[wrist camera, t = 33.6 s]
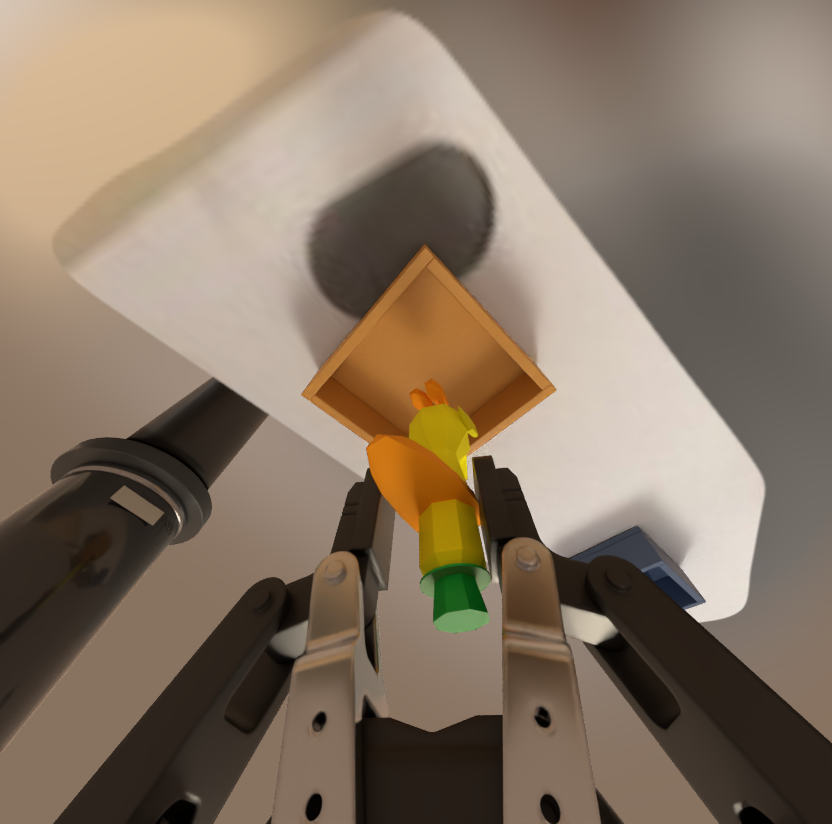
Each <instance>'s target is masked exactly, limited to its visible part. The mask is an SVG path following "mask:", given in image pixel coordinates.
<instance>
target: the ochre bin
mask: <svg viewBox="0 0 832 824" xmlns="http://www.w3.org/2000/svg"><path fill="white" fill-rule="evenodd" d="M430 379H433V380H434V381H436V382H437V383H439V384H440V385H441V387H442V388H443V390H444V392H445V395H446V397H447V400H448V402H449V405H448V406H449V407H451V408H453V409H455V410H457V411H458V406H459V407H460V408H461V409H462V410H463V411H464V412H465V413H466V414H467V415H468V416H469V417H470V419H471V420H472V422H473V423H474V424H475V427H476V430H477V432H478V436H477V437H473V436H471V435H470V434H469V433H467V434H468V439H469V444H470V451H469V452H468V453H467V454H466V457H467V456H469V455H470V454H471V453H473V452H474V451H475V450H477V449H478V448H479V447H481V446H482V445H483V444H485V443H486V442H488V441H489V440H490V439H492V438H493V437H494V436H496V435H497V434H498V433H500V432H501V431H502V430H504V429H505V428H506V427H508V426H509V425H510V424H512V423H513V422H514V421H516V420H517V419H518V418H520V417H521V416H522V415H524V414H525V413H527V412H528V411H529V410H531V409H532V408H533V407H535V406H536V405H537V404H539V403H540V402H541V401H543V400H544V399H545V398H547V397H548V396H549V395H551V394H552V393H553V392H555V391H556V388H555V387H554V386H553V385H552V383H551V382H550V381H549V380H548V378H547V377H546V376H545V375H544V374H543V372H542V371H541V370H540V369H539V368H538V366H537V365H536V364H535V363H534V362H533V361H532V360H531V359H530V358H529V357H528V355H527V354H526V353H525V352H524V351H523V350H522V349H521V348H520V347H519V346H518V345H517V343H516V342H515V341H514V340H513V339H512V338H511V337H510V336H509V335H508V334H507V333H506V331H505V330H504V329H503V328H502V327H501V326H500V325H499V324H498V323H497V322H496V321H495V319H494V318H493V317H492V316H491V315H490V314H489V313H488V312H487V311H486V310H485V308H484V307H483V306H482V305H481V304H480V303H479V302H478V301H477V300H476V299H475V298H474V296H473V295H472V294H471V293H470V292H469V291H468V290H467V289H466V288H465V287H464V286H463V284H462V283H461V282H460V281H459V280H458V279H457V278H456V277H455V276H454V275H453V274H452V272H451V271H450V270H449V269H448V268H447V267H446V266H445V265H444V264H443V263H442V262H441V260H440V259H439V258H438V257H437V256H436V255H435V254H434V253H433V252H432V251H431V250H430V248H429V247H428V246H427V245H426V244H424V245H423V246H422V247H421V249H420V250H419V251H418V252H417V253H416V255H415V256H414V257H413V258H412V259H411V260H410V262H409V263H408V264H407V265H406V266H405V268H404V269H403V270H402V271H401V272H400V274H399V275H398V276H397V277H396V278H395V280H394V281H393V282H392V283H391V284H390V286H389V287H388V288H387V289H386V290H385V292H384V293H383V294H382V295H381V296H380V298H379V299H378V300H377V301H376V302H375V304H374V305H373V306H372V307H371V308H370V309H369V311H368V312H367V313H366V314H365V315H364V317H363V318H362V319H361V320H360V321H359V323H358V324H357V325H356V326H355V327H354V329H353V330H352V331H351V332H350V333H349V335H348V336H347V337H346V338H345V339H344V341H343V342H342V343H341V344H340V345H339V347H338V348H337V349H336V350H335V351H334V353H333V354H332V355H331V356H330V357H329V358H328V360H327V361H326V362H325V363H324V364H323V366H322V367H321V368H320V369H319V370H318V372H317V373H316V375H315V376H314V377H313V379H312V380H311V381H310V383H309V384H308V386H307V387H306V388H305V390H304V391H303V392H302V394H301V395H302V396H303V397H305V398H306V399H308V400H310V402H312V403H313V404H315V405H316V406H317V407H319V408H320V409H322V410H323V411H324V412H326V413H327V414H329V415H330V416H332V417H333V418H334V419H336V420H337V421H339V422H340V423H341V424H343V425H344V426H346V427H347V428H348V429H350V430H351V431H353V432H354V433H355V434H357V435H358V436H360V437H361V438H362V439H364V440H365V441H367V442H368V443H369V444H370V443H371V442H372V440H373V439H374V438H375V437H376V435H377V434H380V435H393V436H403V437H405V438H406V436H407V437H408V438H409V424H410V423H411V422H412V420H413V419H414V418H415V416H416V415H417V413H418V412H419V410H418V409H416V408H415V407H414V406H413V403H412V400H411V397H410V394H409V393H410V392H411V391H412V390H414V389H415V388H418V389H419V390H421V391H423V392H425V393H426V389H425V385H424V384H425V382H427V381H429V380H430ZM426 394H427V393H426ZM431 402H432V401H431ZM432 403H433V405H437V404H435V403H434V402H432ZM458 412H459V411H458Z"/></svg>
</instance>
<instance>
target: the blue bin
mask: <svg viewBox="0 0 832 824" xmlns="http://www.w3.org/2000/svg"><path fill="white" fill-rule="evenodd" d="M602 555H612V556H617V557H620V558H623V559H625V560H627V561H629V562H631V563H632V564H634V565H635V566H636V567H637V568H639V569H640V570H641V571H642V572H645V571H647V572H648V573H649V574H650V576H651V577H652V579H653V580H654V582H655V583H656V585H657V586H659V587H660V588H661V589H662V590H663V591H664V592H665V593H666V594H667V595H668V596H670V597H671V598H672V599H673V600H674V601H675V602H676V603H677V604H678V605H680V606H681V607H682V608H683V609H684V610H685V609H688V608H691V607H694V606H697V605H700V604H702V603H705V602H706V601H705V599H704V598H703V597H702V595H701V594H700V593H699V592H698V590H697V589H696V588H695V586H694V585H693V584H692V582H691V581H690V580H689V578H688V577H687V576H686V574H685V573H684V572H683V570H682V569H681V568H680V567H679V566H678V565H677V564H676V563H675V562H674V561H673V560H672V559H671V558H670V557H669V556H668V555H667V554H666V553H665V552H664V551H663V550H662V549H661V548H660V547H659V546H658V545H657V544H656V543H655V542H654V541H653V540H652V539H651V538H649V537H648V536H647V535H646V534H645V533H644V532H643V531H642V530H641V529H640V528H639V527H638V526H636V527H634V528H632V529H630V530H627V531H625V532H623V533H621V534H619V535H617V536H615V537H613V538H611V539H609V540H607V541H605V542H603V543H601V544H599V545H597V546H594V547H592V548H590V549H588V550H586V551H584V552H582V553H580V554H578V555H576V556H574V557H572V558H570V559H572V560H577V561H581V562H586V563H590V562H591V561H592V560H593V559H594V558H595V557H598V556H602Z"/></svg>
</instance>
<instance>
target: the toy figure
mask: <svg viewBox="0 0 832 824" xmlns="http://www.w3.org/2000/svg"><path fill="white" fill-rule="evenodd" d="M424 385H425V389H426V393H427V394H426V393H425V392H423V391H421V390H419V389H418V388H415V389H414V390H412V391H411V392H410V393H409V394H410V397H411V400H412V403H413V406H414V407H415V408H416V409H418V410H419V412H418V413H417V415H416V416H415V418H414V419H413V420H412V422H411V423H410V424H409V438H408V437H407V436H406V438H405V437H403V436H393V435H380V434H377V435H376V437H375V438H374V439H373V440H372V442H371V443H370V444H369V445H368V446H367V448H366V450H367V455H368V460H369V465H370V470H371V475H372V477H373V479H374V481H375V483H376V485H377V486H378V488H379V490H380V492H381V494H382V495H383V496H384V497H385V499H386V500H387V501H388V502H389V503H390V505H391V506H392V507H393V508H394V509H395V511H396V512H397V513H398V514H399V515H400V516H401V517H402V518H403V519H404V520H405V521H406V522H407V523H408V524H409V525H410V526H411V527H412V528H413V529H415V530H416V531H417V532H418V533H419V560H420V561H419V563H420V565H419V567H420V570H421V572H422V575H423V578H422V579H421V581H420V589H421V591H422V592H423V593H424V594H425V595H427V596H429V597H432V598H434V610H433V623H434V625H435V626H436V629H437V630H439V631H445V632H451V633H459V632H466V631H472V630H477V629H478V628H480V627H482V626H483V625H485V624H487V623H488V622H490V620H489V615H488V612H487V609H486V606H485V603H484V601H483V598H482V596H481V593H480V592H481V591H483V590H484V589H485V588H486V587H487V586H488V585H489V583H490V581H491V577H490V574H489V572H488V571H487V568H486V562H485V557H484V552H483V547H482V543H481V538H480V533H479V528H478V526H479V525H481V523H480V511H479V503H478V501H477V498H476V496H475V494H474V492H473V491H472V490H471V489H470V488H469V486H468V485H467V482H466V480H465V479H467V480H468V478H467V459H466V454H467V453H468V452H469V451H470V444H469V439H468V434H467V433H469V434H470V435H471V436H473V437H477V436H478V432H477V430H476V427H475V424H474V423H473V422H472V420H471V419H470V417H469V416H468V415H467V414H466V413H465V412H464V411H463V410H462V409H461V408H460V407H459V406H458V411H459V412H458V411H457V410H455V409H453V408H451V407H449V406H448V405H449V402H448V400H447V397H446V395H445V392H444V390H443V388H442V387H441V385H440V384H439V383H437V382H436V381H434V380H433V379H430V380H429V381H427V382H425V384H424ZM431 401H432V402H434V403H435V404H437V405H433V403H432V402H431Z"/></svg>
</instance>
